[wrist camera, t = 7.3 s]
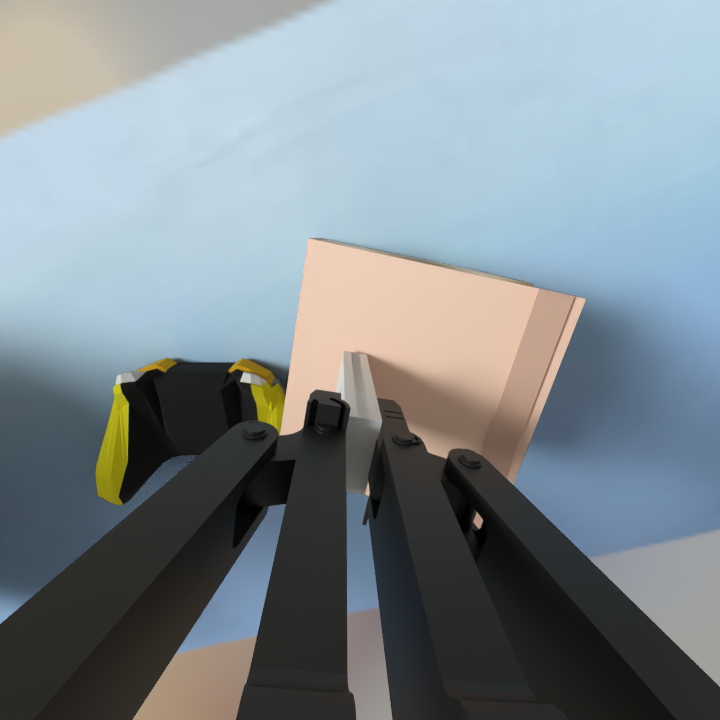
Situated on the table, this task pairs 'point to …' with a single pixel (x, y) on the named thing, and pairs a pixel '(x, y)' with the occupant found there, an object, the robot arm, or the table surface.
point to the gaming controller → (178, 416)
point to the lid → (432, 348)
